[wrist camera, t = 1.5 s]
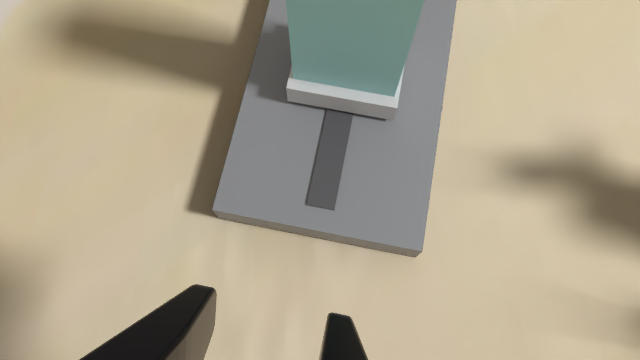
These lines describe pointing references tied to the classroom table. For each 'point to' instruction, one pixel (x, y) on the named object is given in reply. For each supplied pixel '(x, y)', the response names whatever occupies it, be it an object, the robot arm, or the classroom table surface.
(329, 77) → the fader lever
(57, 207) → the classroom table surface
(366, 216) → the fader board
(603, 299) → the classroom table surface
